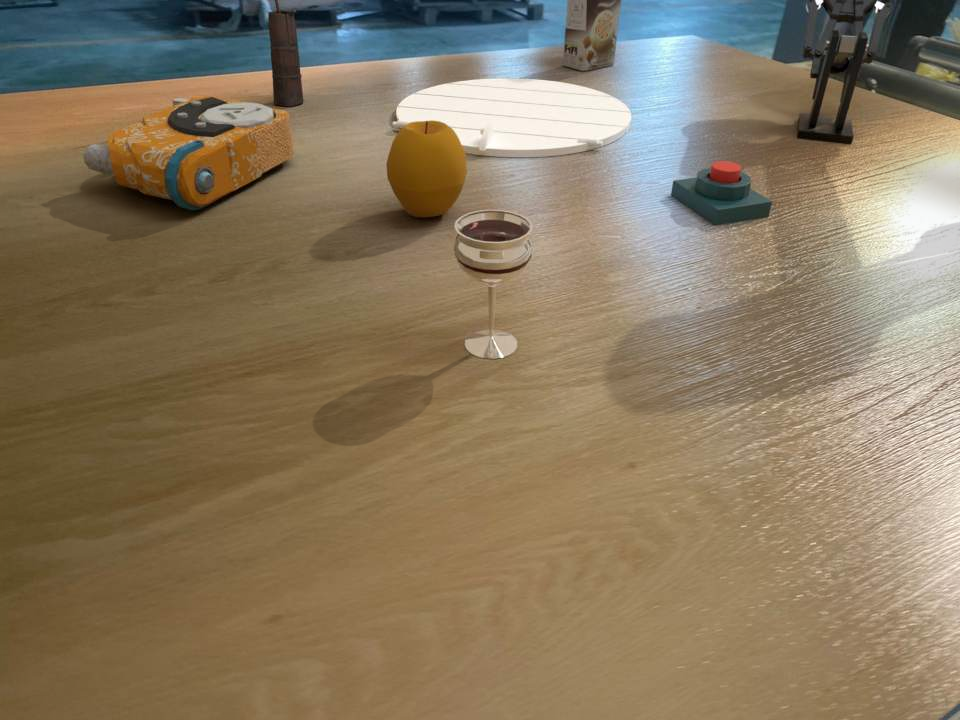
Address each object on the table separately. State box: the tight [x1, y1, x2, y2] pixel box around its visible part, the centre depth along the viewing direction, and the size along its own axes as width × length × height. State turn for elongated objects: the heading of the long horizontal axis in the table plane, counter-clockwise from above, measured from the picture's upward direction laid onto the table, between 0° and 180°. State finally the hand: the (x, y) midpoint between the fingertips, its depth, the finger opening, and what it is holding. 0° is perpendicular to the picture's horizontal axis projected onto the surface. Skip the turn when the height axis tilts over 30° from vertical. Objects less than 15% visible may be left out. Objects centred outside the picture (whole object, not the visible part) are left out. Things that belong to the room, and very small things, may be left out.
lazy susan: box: [392, 77, 632, 158], centre depth 127 cm, size 40×39×3 cm
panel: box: [670, 167, 773, 227], centre depth 97 cm, size 10×8×4 cm
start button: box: [709, 160, 742, 184], centre depth 95 cm, size 4×4×2 cm
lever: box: [829, 34, 857, 76], centre depth 121 cm, size 13×4×4 cm, turn 160°
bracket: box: [796, 29, 869, 145], centre depth 119 cm, size 10×8×15 cm
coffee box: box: [562, 0, 622, 72], centre depth 152 cm, size 9×6×16 cm
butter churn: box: [267, 0, 305, 107], centre depth 126 cm, size 9×10×28 cm
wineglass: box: [453, 209, 533, 360], centre depth 68 cm, size 7×7×12 cm
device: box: [83, 94, 295, 211], centre depth 105 cm, size 23×8×30 cm
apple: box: [385, 120, 468, 218], centre depth 92 cm, size 10×10×12 cm
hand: (830, 96), depth 125 cm, fingers closed on lever, 4 cm apart
